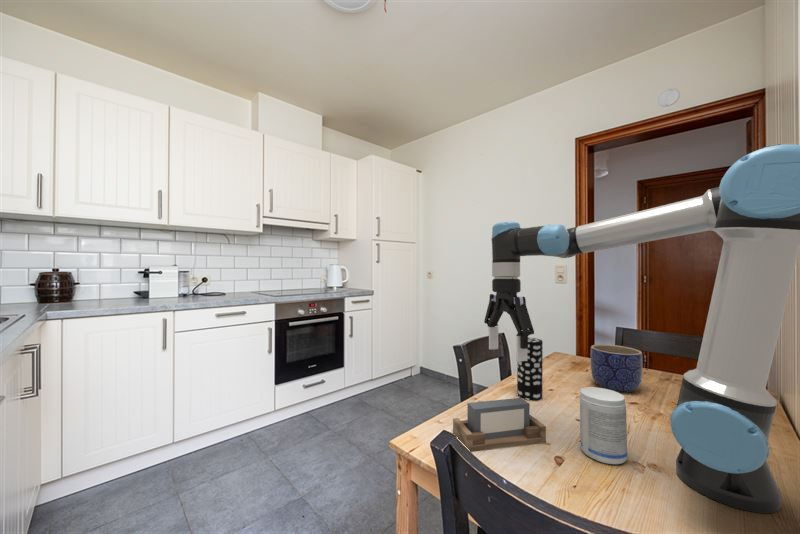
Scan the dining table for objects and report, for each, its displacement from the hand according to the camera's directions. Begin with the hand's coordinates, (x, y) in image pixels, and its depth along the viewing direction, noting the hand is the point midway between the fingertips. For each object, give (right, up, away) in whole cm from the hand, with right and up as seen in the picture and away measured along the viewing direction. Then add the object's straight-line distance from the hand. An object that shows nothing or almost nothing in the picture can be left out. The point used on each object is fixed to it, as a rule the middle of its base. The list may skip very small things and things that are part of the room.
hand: (506, 354), depth 88 cm
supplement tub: (+20, -21, -11) cm, 31 cm away
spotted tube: (+17, -22, +25) cm, 37 cm away
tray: (-4, -21, -4) cm, 22 cm away
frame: (-4, -20, -4) cm, 21 cm away
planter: (+53, -22, +34) cm, 67 cm away
